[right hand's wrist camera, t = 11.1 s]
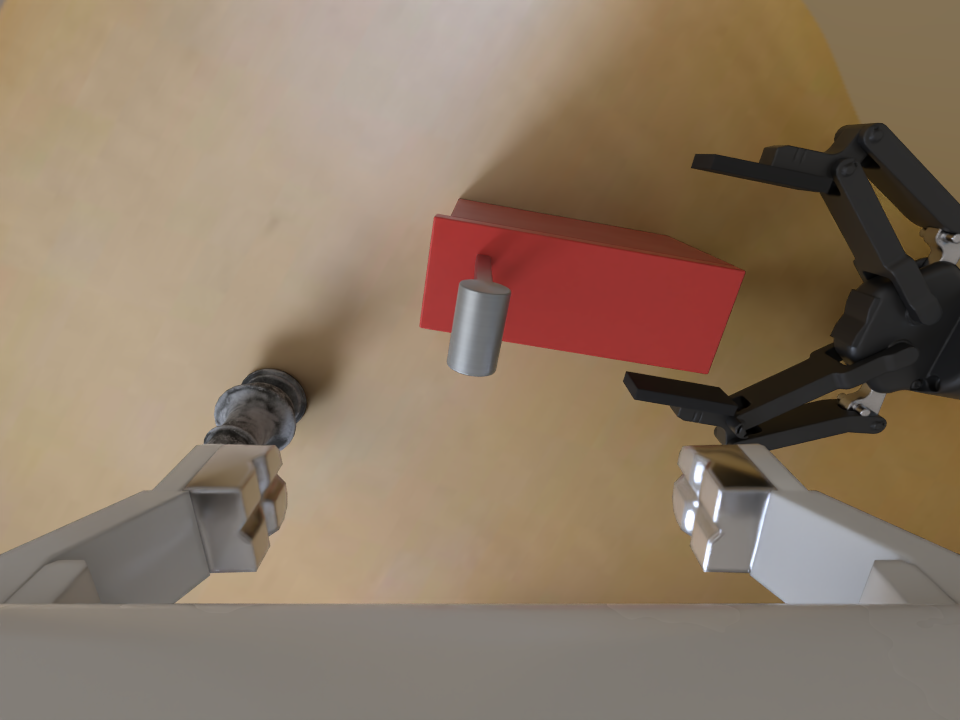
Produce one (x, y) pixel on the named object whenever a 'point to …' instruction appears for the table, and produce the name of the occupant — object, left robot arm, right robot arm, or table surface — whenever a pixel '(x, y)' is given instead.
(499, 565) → the table surface
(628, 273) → the lid
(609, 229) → the chest
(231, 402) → the grey chess bishop
